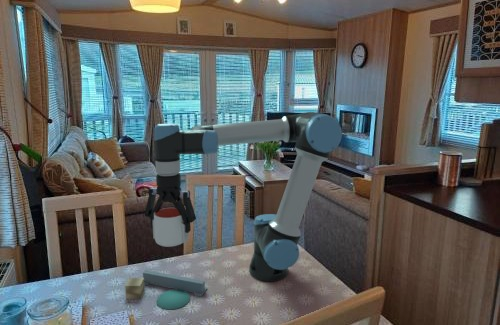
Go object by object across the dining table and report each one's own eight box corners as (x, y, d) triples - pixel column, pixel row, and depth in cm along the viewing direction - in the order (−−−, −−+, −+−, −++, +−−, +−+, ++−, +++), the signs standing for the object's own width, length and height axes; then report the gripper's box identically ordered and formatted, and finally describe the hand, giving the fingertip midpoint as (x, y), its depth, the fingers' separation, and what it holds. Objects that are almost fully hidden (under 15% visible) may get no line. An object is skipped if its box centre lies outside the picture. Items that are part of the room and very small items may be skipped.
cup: (179, 249, 107) (178, 219, 105) (149, 246, 109) (148, 216, 107) (190, 236, 117) (190, 208, 115) (163, 234, 119) (162, 206, 117)
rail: (207, 289, 124) (207, 278, 123) (201, 296, 119) (200, 286, 118) (148, 277, 131) (147, 268, 130) (140, 284, 126) (139, 274, 125)
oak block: (144, 290, 123) (144, 277, 122) (140, 299, 118) (140, 285, 117) (130, 291, 122) (129, 278, 121) (126, 299, 117) (125, 286, 116)
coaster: (195, 293, 121) (195, 292, 121) (179, 312, 111) (179, 311, 110) (167, 288, 124) (167, 287, 124) (150, 305, 114) (150, 304, 114)
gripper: (206, 173, 109) (207, 239, 113) (144, 168, 115) (147, 230, 120) (195, 178, 102) (197, 248, 106) (130, 173, 108) (134, 239, 113)
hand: (170, 239), depth 113 cm, fingers closed on cup, 10 cm apart
